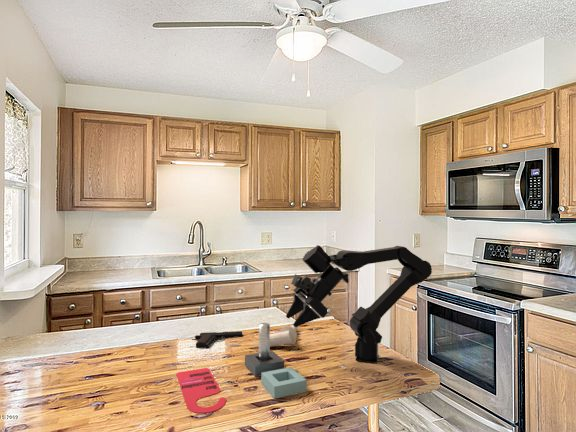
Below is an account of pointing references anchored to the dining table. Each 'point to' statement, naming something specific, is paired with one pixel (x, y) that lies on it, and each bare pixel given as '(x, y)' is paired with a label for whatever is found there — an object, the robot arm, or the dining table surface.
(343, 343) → the dining table surface
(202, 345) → the handgun
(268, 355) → the steel pin
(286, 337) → the toilet paper hanger
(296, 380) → the block
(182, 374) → the door hanger
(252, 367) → the socket block
